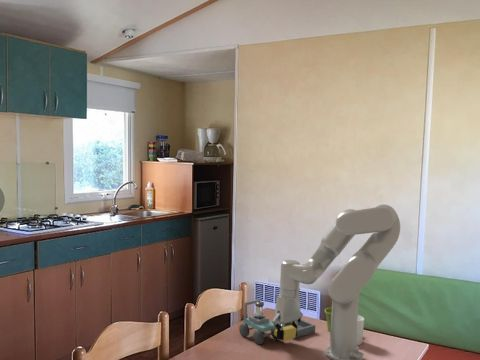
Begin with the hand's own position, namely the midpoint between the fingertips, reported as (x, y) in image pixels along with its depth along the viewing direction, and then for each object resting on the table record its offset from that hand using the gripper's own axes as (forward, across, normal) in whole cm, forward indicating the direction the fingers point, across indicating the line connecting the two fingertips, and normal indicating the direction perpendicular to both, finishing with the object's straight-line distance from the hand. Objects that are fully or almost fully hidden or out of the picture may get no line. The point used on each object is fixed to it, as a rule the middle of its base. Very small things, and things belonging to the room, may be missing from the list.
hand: (286, 336), depth 176 cm
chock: (0, 0, -1) cm, 1 cm away
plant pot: (+3, -28, +1) cm, 28 cm away
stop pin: (-3, +4, -12) cm, 13 cm away
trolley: (+3, +4, -11) cm, 12 cm away
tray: (+3, -13, -9) cm, 16 cm away
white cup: (+3, -25, +13) cm, 28 cm away
